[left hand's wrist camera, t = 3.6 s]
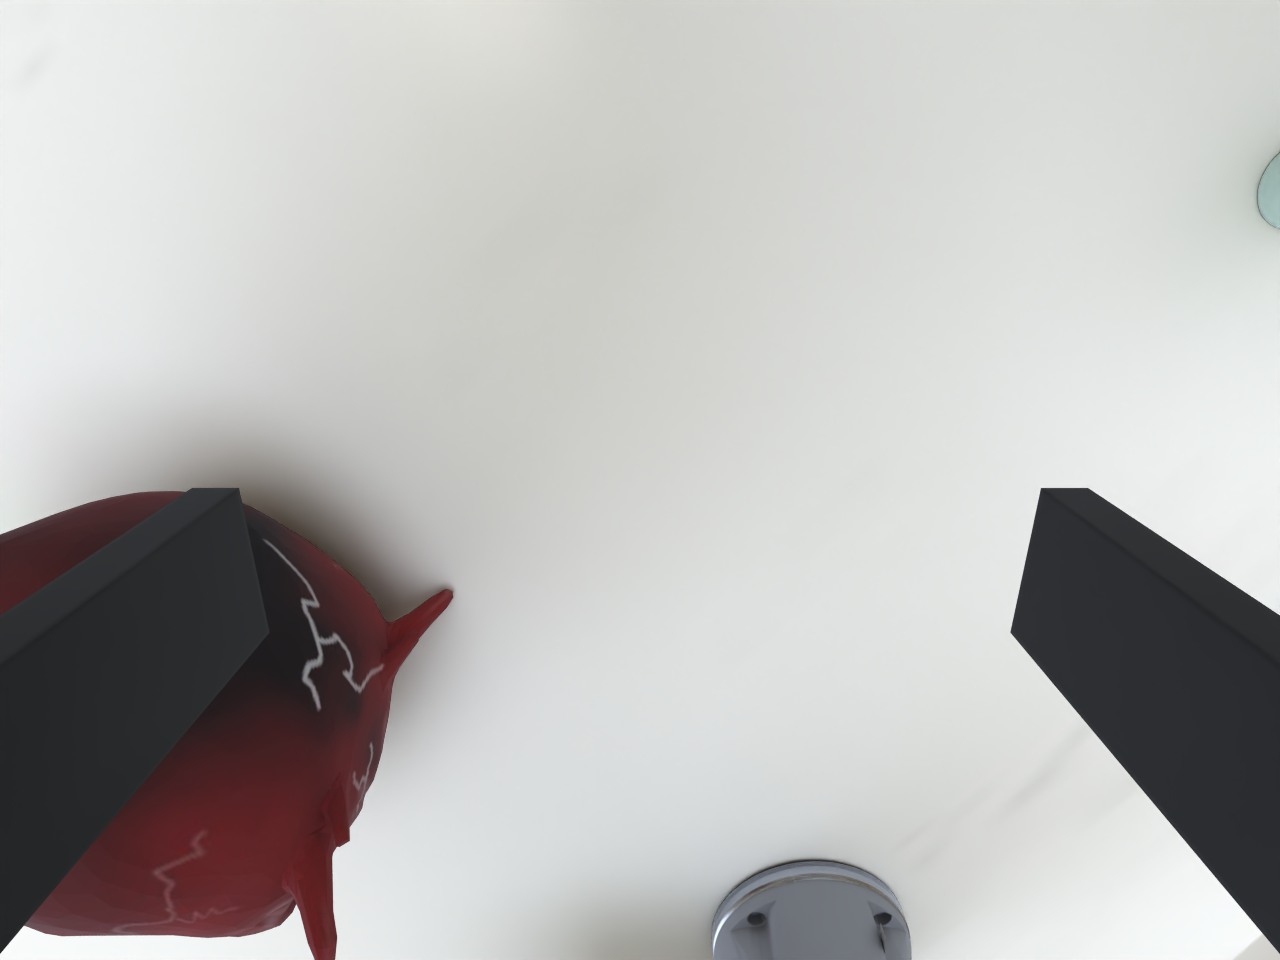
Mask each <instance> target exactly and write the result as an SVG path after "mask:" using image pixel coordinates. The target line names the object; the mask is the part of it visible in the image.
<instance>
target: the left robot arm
mask: <svg viewBox="0 0 1280 960" xmlns="http://www.w3.org/2000/svg"><path fill="white" fill-rule="evenodd" d="M1010 633H1011V634H1012V635H1013V636H1014V637H1015V638H1016V640H1017V641H1018V642H1019V643H1020V644H1021V646H1022V647H1023V648H1024V649H1025V650H1026V652H1027V653H1028V654H1029V655H1030V656H1031V658H1032V659H1033V660H1034V661H1035V662H1036V664H1037V665H1038V666H1039V667H1040V668H1041V669H1042V671H1043V672H1044V673H1045V674H1046V675H1047V677H1048V678H1049V679H1050V680H1051V681H1052V683H1053V684H1054V685H1055V686H1056V687H1057V689H1058V690H1059V691H1060V692H1061V693H1062V695H1063V696H1064V697H1065V698H1066V699H1067V700H1068V702H1069V703H1070V704H1071V705H1072V706H1073V708H1074V709H1075V710H1076V711H1077V712H1078V714H1079V715H1080V716H1081V717H1082V718H1083V720H1084V721H1085V722H1086V723H1087V724H1088V726H1089V727H1090V728H1091V729H1092V730H1093V732H1094V733H1095V734H1096V735H1097V736H1098V737H1099V739H1100V740H1101V741H1102V742H1103V743H1104V745H1105V746H1106V747H1107V748H1108V749H1109V751H1110V752H1111V753H1112V754H1113V755H1114V757H1115V758H1116V759H1117V760H1118V761H1119V763H1120V764H1121V765H1122V766H1123V767H1124V768H1125V770H1126V771H1127V772H1128V773H1129V774H1130V776H1131V777H1132V778H1133V779H1134V780H1135V782H1136V783H1137V784H1138V785H1139V786H1140V788H1141V789H1142V790H1143V791H1144V792H1145V794H1146V795H1147V796H1148V797H1149V798H1150V799H1151V801H1152V802H1153V803H1154V804H1155V805H1156V807H1157V808H1158V809H1159V810H1160V811H1161V813H1162V814H1163V815H1164V816H1165V817H1166V819H1167V820H1168V821H1169V822H1170V823H1171V825H1172V826H1173V827H1174V828H1175V829H1176V830H1177V832H1178V833H1179V834H1180V835H1181V836H1182V838H1183V839H1184V840H1185V841H1186V842H1187V844H1188V845H1189V846H1190V847H1191V848H1192V850H1193V851H1194V852H1195V853H1196V854H1197V856H1198V857H1199V858H1200V859H1201V860H1202V862H1203V863H1204V864H1205V865H1206V866H1207V867H1208V869H1209V870H1210V871H1211V872H1212V873H1213V875H1214V876H1215V877H1216V878H1217V879H1218V881H1219V882H1220V883H1221V884H1222V885H1223V887H1224V888H1225V889H1226V890H1227V891H1228V893H1229V894H1230V895H1231V896H1232V897H1233V898H1234V900H1235V901H1236V902H1237V903H1238V904H1239V906H1240V907H1241V908H1242V909H1243V910H1244V912H1245V913H1246V914H1247V915H1248V916H1249V918H1250V919H1251V920H1252V921H1253V922H1254V924H1255V925H1256V926H1257V927H1258V928H1259V929H1260V931H1261V932H1262V933H1263V934H1264V935H1265V937H1266V938H1267V939H1268V940H1269V941H1270V943H1271V944H1272V945H1273V946H1274V947H1275V949H1276V950H1277V951H1278V952H1279V953H1280V615H1278V614H1277V613H1275V612H1274V611H1272V610H1271V609H1269V608H1268V607H1266V606H1265V605H1263V604H1262V603H1260V602H1259V601H1257V600H1256V599H1254V598H1253V597H1251V596H1250V595H1248V594H1247V593H1245V592H1244V591H1242V590H1241V589H1239V588H1238V587H1236V586H1235V585H1233V584H1232V583H1230V582H1229V581H1227V580H1226V579H1224V578H1223V577H1221V576H1220V575H1218V574H1217V573H1215V572H1213V571H1212V570H1210V569H1209V568H1207V567H1206V566H1204V565H1203V564H1201V563H1200V562H1198V561H1197V560H1195V559H1194V558H1192V557H1191V556H1189V555H1188V554H1186V553H1185V552H1183V551H1182V550H1180V549H1179V548H1177V547H1176V546H1174V545H1173V544H1171V543H1170V542H1168V541H1167V540H1165V539H1164V538H1162V537H1161V536H1159V535H1158V534H1156V533H1155V532H1153V531H1152V530H1150V529H1149V528H1147V527H1146V526H1144V525H1143V524H1141V523H1140V522H1138V521H1137V520H1135V519H1134V518H1132V517H1131V516H1129V515H1128V514H1126V513H1125V512H1123V511H1122V510H1120V509H1119V508H1117V507H1116V506H1114V505H1113V504H1111V503H1110V502H1108V501H1107V500H1105V499H1104V498H1102V497H1101V496H1099V495H1098V494H1096V493H1095V492H1093V491H1092V490H1090V489H1089V488H1041V491H1040V496H1039V501H1038V505H1037V510H1036V515H1035V520H1034V524H1033V529H1032V534H1031V538H1030V543H1029V548H1028V552H1027V557H1026V562H1025V567H1024V571H1023V576H1022V581H1021V585H1020V590H1019V595H1018V600H1017V604H1016V609H1015V614H1014V618H1013V623H1012V628H1011V632H1010ZM268 634H269V628H268V623H267V618H266V614H265V609H264V604H263V600H262V595H261V590H260V585H259V581H258V576H257V571H256V567H255V562H254V557H253V552H252V548H251V543H250V538H249V534H248V529H247V524H246V520H245V515H244V510H243V505H242V501H241V496H240V491H239V488H191V489H190V490H188V491H187V492H185V493H184V494H182V495H181V496H179V497H178V498H176V499H175V500H173V501H172V502H170V503H169V504H167V505H166V506H164V507H163V508H161V509H160V510H158V511H157V512H155V513H154V514H152V515H151V516H149V517H148V518H146V519H145V520H143V521H142V522H140V523H139V524H137V525H136V526H134V527H133V528H131V529H130V530H128V531H127V532H125V533H124V534H122V535H121V536H119V537H118V538H116V539H115V540H113V541H112V542H110V543H109V544H107V545H106V546H104V547H103V548H101V549H100V550H98V551H97V552H95V553H94V554H92V555H91V556H89V557H88V558H86V559H85V560H83V561H82V562H80V563H79V564H77V565H76V566H74V567H73V568H71V569H70V570H68V571H67V572H65V573H63V574H62V575H60V576H59V577H57V578H56V579H54V580H53V581H51V582H50V583H48V584H47V585H45V586H44V587H42V588H41V589H39V590H38V591H36V592H35V593H33V594H32V595H30V596H29V597H27V598H26V599H24V600H23V601H21V602H20V603H18V604H17V605H15V606H14V607H12V608H11V609H9V610H8V611H6V612H5V613H3V614H2V615H0V953H1V952H2V951H3V950H4V949H5V947H6V946H7V945H8V944H9V943H10V941H11V940H12V939H13V938H14V937H15V935H16V934H17V933H18V932H19V931H20V929H21V928H22V927H23V926H24V925H25V924H26V922H27V921H28V920H29V919H30V918H31V916H32V915H33V914H34V913H35V912H36V910H37V909H38V908H39V907H40V906H41V904H42V903H43V902H44V901H45V900H46V898H47V897H48V896H49V895H50V894H51V893H52V891H53V890H54V889H55V888H56V887H57V885H58V884H59V883H60V882H61V881H62V879H63V878H64V877H65V876H66V875H67V873H68V872H69V871H70V870H71V869H72V867H73V866H74V865H75V864H76V863H77V862H78V860H79V859H80V858H81V857H82V856H83V854H84V853H85V852H86V851H87V850H88V848H89V847H90V846H91V845H92V844H93V842H94V841H95V840H96V839H97V838H98V836H99V835H100V834H101V833H102V832H103V830H104V829H105V828H106V827H107V826H108V825H109V823H110V822H111V821H112V820H113V819H114V817H115V816H116V815H117V814H118V813H119V811H120V810H121V809H122V808H123V807H124V805H125V804H126V803H127V802H128V801H129V799H130V798H131V797H132V796H133V795H134V794H135V792H136V791H137V790H138V789H139V788H140V786H141V785H142V784H143V783H144V782H145V780H146V779H147V778H148V777H149V776H150V774H151V773H152V772H153V771H154V770H155V768H156V767H157V766H158V765H159V764H160V763H161V761H162V760H163V759H164V758H165V757H166V755H167V754H168V753H169V752H170V751H171V749H172V748H173V747H174V746H175V745H176V743H177V742H178V741H179V740H180V739H181V737H182V736H183V735H184V734H185V733H186V731H187V730H188V729H189V728H190V727H191V726H192V724H193V723H194V722H195V721H196V720H197V718H198V717H199V716H200V715H201V714H202V712H203V711H204V710H205V709H206V708H207V706H208V705H209V704H210V703H211V702H212V700H213V699H214V698H215V697H216V696H217V695H218V693H219V692H220V691H221V690H222V689H223V687H224V686H225V685H226V684H227V683H228V681H229V680H230V679H231V678H232V677H233V675H234V674H235V673H236V672H237V671H238V669H239V668H240V667H241V666H242V665H243V664H244V662H245V661H246V660H247V659H248V658H249V656H250V655H251V654H252V653H253V652H254V650H255V649H256V648H257V647H258V646H259V644H260V643H261V642H262V641H263V640H264V638H265V637H266V636H267V635H268ZM711 939H712V950H713V959H714V960H911V942H910V934H909V929H908V926H907V923H906V920H905V918H904V915H903V912H902V909H901V907H900V904H899V902H898V900H897V898H896V897H895V895H894V894H893V893H892V891H891V890H890V889H889V888H888V887H887V886H886V885H885V884H884V883H883V882H881V881H880V880H879V879H877V878H876V877H874V876H872V875H871V874H869V873H867V872H865V871H863V870H860V869H858V868H855V867H852V866H848V865H845V864H839V863H834V862H824V861H806V862H797V863H791V864H785V865H782V866H778V867H774V868H772V869H769V870H766V871H764V872H761V873H759V874H757V875H755V876H753V877H751V878H750V879H748V880H746V881H745V882H743V883H742V884H741V885H739V886H738V887H737V888H735V889H734V890H733V891H732V892H731V893H730V894H729V895H728V896H727V897H726V899H725V900H724V901H723V903H722V904H721V905H720V907H719V909H718V911H717V913H716V915H715V918H714V921H713V924H712V931H711Z"/></svg>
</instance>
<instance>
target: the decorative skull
mask: <svg viewBox="0 0 1280 960" xmlns="http://www.w3.org/2000/svg"><path fill="white" fill-rule="evenodd" d="M184 493H185V492H176V491H160V492H141V493H133V494H127V495H122V496H116V497H111V498H107V499H103V500H99V501H94V502H90V503H87V504H84V505H81V506H78V507H75V508H72V509H69V510H66V511H63V512H60V513H57V514H54V515H51V516H49V517H46V518H43V519H41V520H38V521H35V522H33V523H30V524H27V525H25V526H22V527H19V528H17V529H14V530H11V531H9V532H6V533H3V534H1V535H0V615H2V614H3V613H5V612H6V611H8V610H9V609H11V608H12V607H14V606H15V605H17V604H18V603H20V602H21V601H23V600H24V599H26V598H27V597H29V596H30V595H32V594H33V593H35V592H36V591H38V590H39V589H41V588H42V587H44V586H45V585H47V584H48V583H50V582H51V581H53V580H54V579H56V578H57V577H59V576H60V575H62V574H63V573H65V572H67V571H68V570H70V569H71V568H73V567H74V566H76V565H77V564H79V563H80V562H82V561H83V560H85V559H86V558H88V557H89V556H91V555H92V554H94V553H95V552H97V551H98V550H100V549H101V548H103V547H104V546H106V545H107V544H109V543H110V542H112V541H113V540H115V539H116V538H118V537H119V536H121V535H122V534H124V533H125V532H127V531H128V530H130V529H131V528H133V527H134V526H136V525H137V524H139V523H140V522H142V521H143V520H145V519H146V518H148V517H149V516H151V515H152V514H154V513H155V512H157V511H158V510H160V509H161V508H163V507H164V506H166V505H167V504H169V503H170V502H172V501H173V500H175V499H176V498H178V497H179V496H181V495H182V494H184ZM242 505H243V510H244V515H245V520H246V524H247V529H248V534H249V538H250V543H251V548H252V552H253V557H254V562H255V567H256V571H257V576H258V581H259V585H260V590H261V595H262V600H263V604H264V609H265V614H266V618H267V623H268V628H269V634H268V635H267V636H266V637H265V638H264V640H263V641H262V642H261V643H260V644H259V646H258V647H257V648H256V649H255V650H254V652H253V653H252V654H251V655H250V656H249V658H248V659H247V660H246V661H245V662H244V664H243V665H242V666H241V667H240V668H239V669H238V671H237V672H236V673H235V674H234V675H233V677H232V678H231V679H230V680H229V681H228V683H227V684H226V685H225V686H224V687H223V689H222V690H221V691H220V692H219V693H218V695H217V696H216V697H215V698H214V699H213V700H212V702H211V703H210V704H209V705H208V706H207V708H206V709H205V710H204V711H203V712H202V714H201V715H200V716H199V717H198V718H197V720H196V721H195V722H194V723H193V724H192V726H191V727H190V728H189V729H188V730H187V731H186V733H185V734H184V735H183V736H182V737H181V739H180V740H179V741H178V742H177V743H176V745H175V746H174V747H173V748H172V749H171V751H170V752H169V753H168V754H167V755H166V757H165V758H164V759H163V760H162V761H161V763H160V764H159V765H158V766H157V767H156V768H155V770H154V771H153V772H152V773H151V774H150V776H149V777H148V778H147V779H146V780H145V782H144V783H143V784H142V785H141V786H140V788H139V789H138V790H137V791H136V792H135V794H134V795H133V796H132V797H131V798H130V799H129V801H128V802H127V803H126V804H125V805H124V807H123V808H122V809H121V810H120V811H119V813H118V814H117V815H116V816H115V817H114V819H113V820H112V821H111V822H110V823H109V825H108V826H107V827H106V828H105V829H104V830H103V832H102V833H101V834H100V835H99V836H98V838H97V839H96V840H95V841H94V842H93V844H92V845H91V846H90V847H89V848H88V850H87V851H86V852H85V853H84V854H83V856H82V857H81V858H80V859H79V860H78V862H77V863H76V864H75V865H74V866H73V867H72V869H71V870H70V871H69V872H68V873H67V875H66V876H65V877H64V878H63V879H62V881H61V882H60V883H59V884H58V885H57V887H56V888H55V889H54V890H53V891H52V893H51V894H50V895H49V896H48V897H47V898H46V900H45V901H44V902H43V903H42V904H41V906H40V907H39V908H38V909H37V910H36V912H35V913H34V914H33V915H32V916H31V918H30V919H29V920H28V921H27V922H26V924H25V925H24V926H27V927H29V928H32V929H35V930H37V931H40V932H43V933H45V934H52V935H58V936H106V935H177V936H189V937H204V938H212V937H228V936H230V937H241V936H246V935H252V934H256V933H260V932H263V931H266V930H269V929H272V928H274V927H277V926H280V925H281V924H282V923H283V922H284V921H285V920H286V919H287V918H288V917H289V915H290V914H291V913H292V912H293V910H294V908H295V906H296V904H297V906H298V908H299V910H300V914H301V918H302V921H303V925H304V929H305V933H306V937H307V941H308V944H309V947H310V949H311V952H312V954H313V956H314V959H315V960H335V955H336V944H337V933H336V927H335V920H334V913H333V879H332V855H333V852H334V851H335V849H336V847H340V846H342V845H343V844H345V843H347V842H348V841H350V830H349V827H350V826H351V825H352V823H353V822H354V820H355V819H356V818H357V816H358V815H359V813H360V811H361V809H362V806H363V800H364V796H365V793H366V792H367V791H368V789H369V787H370V785H371V784H372V782H373V780H374V777H375V774H376V771H377V768H378V764H379V760H380V757H381V753H382V748H383V742H384V736H385V732H386V727H387V722H388V716H389V709H390V701H391V693H392V685H393V681H394V677H395V675H396V673H397V671H398V669H399V668H400V666H401V664H402V663H403V662H404V660H405V659H406V657H407V656H408V655H409V653H410V652H411V650H412V649H413V648H414V646H415V645H416V644H417V642H418V640H419V638H420V637H421V636H422V634H423V633H424V632H425V631H426V630H427V628H428V627H429V626H430V625H431V624H432V623H433V622H434V620H435V619H436V618H437V617H438V616H439V615H440V614H441V613H442V612H443V611H444V610H445V609H446V608H447V606H448V605H449V603H450V601H451V600H452V598H453V593H452V591H450V590H447V589H446V590H444V591H441V592H440V593H438V594H436V595H435V596H433V597H431V598H430V599H428V600H427V601H426V602H424V603H423V604H421V605H420V606H419V607H417V608H416V609H414V610H413V611H412V612H410V613H409V614H407V615H405V616H403V617H402V618H400V619H398V620H396V621H394V622H390V623H387V622H386V621H385V620H384V618H383V616H382V615H381V613H380V611H379V609H378V607H377V605H376V604H375V602H374V600H373V599H372V597H371V596H370V595H369V593H368V592H367V591H366V590H365V588H364V587H363V586H362V585H361V584H360V583H359V582H358V581H357V580H356V579H355V578H354V577H353V576H352V575H351V574H349V573H348V572H347V571H346V570H344V569H343V568H342V567H341V566H340V565H338V564H337V563H336V562H335V561H334V560H332V559H331V558H330V557H329V556H327V555H326V554H325V553H324V552H322V551H321V550H320V549H318V548H317V547H315V546H314V545H313V544H311V543H310V542H308V541H307V540H305V539H304V538H303V537H301V536H300V535H298V534H296V533H295V532H293V531H291V530H290V529H288V528H286V527H285V526H283V525H281V524H280V523H278V522H276V521H275V520H273V519H271V518H270V517H268V516H266V515H264V514H263V513H261V512H259V511H257V510H255V509H254V508H252V507H250V506H247V505H245V504H243V503H242Z"/></svg>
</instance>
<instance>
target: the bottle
mask: <svg viewBox="0 0 1280 960" xmlns="http://www.w3.org/2000/svg"><path fill="white" fill-rule="evenodd" d="M1258 206H1259V210H1260V212H1261V214H1262V216H1263V217H1264V219H1265V220H1266V221H1267V222H1268V223H1270V224H1271V225H1272V226H1274V227H1277V228H1279V229H1280V153H1279V154H1278V155H1277V156H1276V157H1275V158H1274V159H1273V160H1272V161H1271V163H1270V164H1269V166H1268V167H1267V169H1266V170H1265V172H1264V174H1263V176H1262V178H1261V181H1260V184H1259V189H1258Z"/></svg>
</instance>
